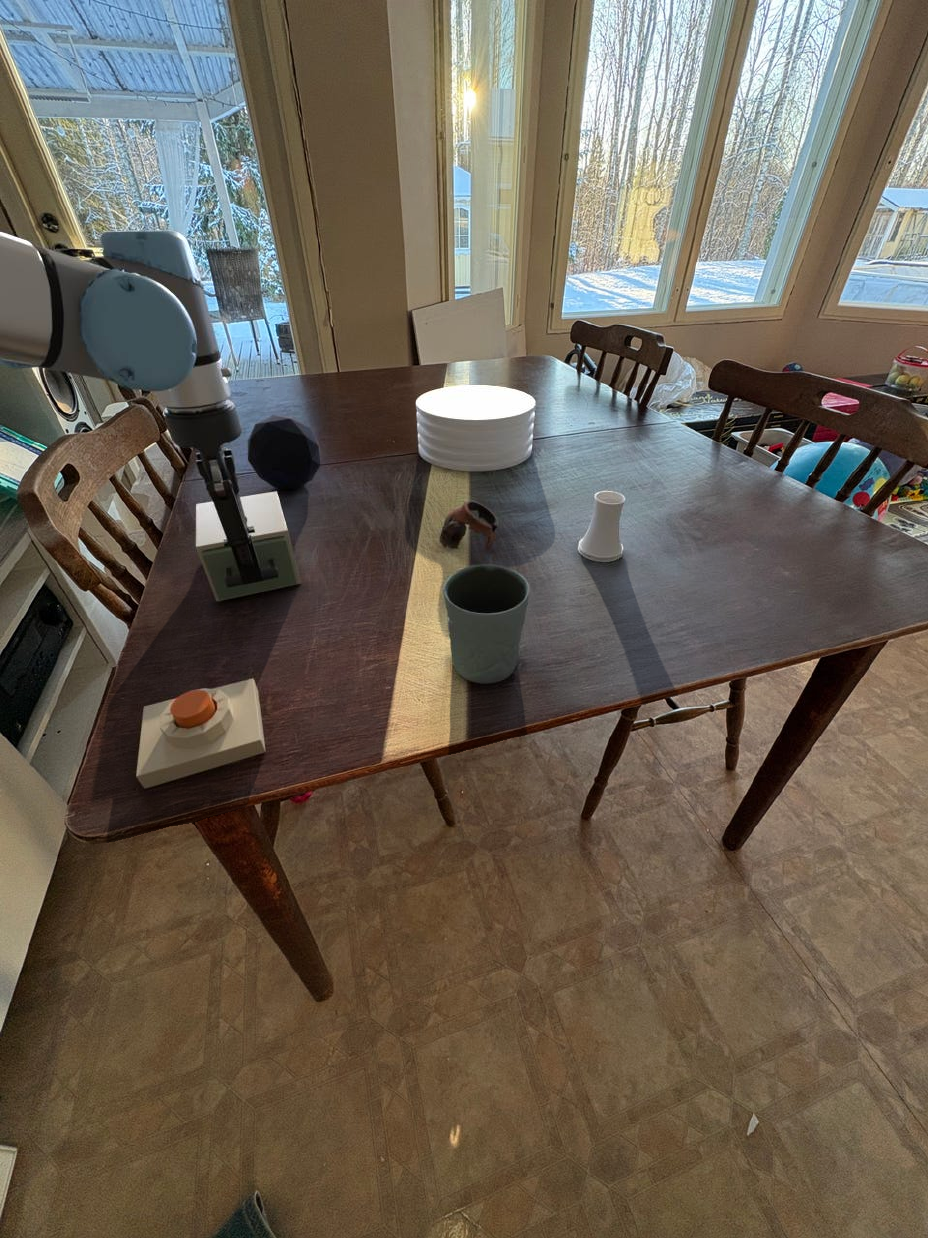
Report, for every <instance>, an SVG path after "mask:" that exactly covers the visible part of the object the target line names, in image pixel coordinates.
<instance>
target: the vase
mask: <svg viewBox="0 0 928 1238" xmlns="http://www.w3.org/2000/svg"><path fill="white" fill-rule="evenodd" d="M625 502H626V497H625V496H624V495H623V494H622V493H619V492H617V491H611V490H602V491H598V492H596V493H594V506H593V512H592V516H591V520H590V523H589V526H588V529H587V531H586V533H585V534H584V536H583V537H582V538H581V539H580V540H579V541H578V546H577V550H578V553H579V554H580V555H581V556H583V558H586V559H588V560H590V561H594V562H599V563H609V562H614V561H617V560H619V559H620V558H621V557H622V556H623V551H624V545H623V543H622V542H621V536H620V522H621V521H620V520H621V514H622V510H623V507H624V504H625Z"/></svg>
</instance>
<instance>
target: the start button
mask: <svg viewBox="0 0 928 1238" xmlns="http://www.w3.org/2000/svg"><path fill="white" fill-rule="evenodd" d="M174 699H175V700H174V702H173V703H172V705H171V708H170V711H171V714H172V716H173V717H174V719H175V721H176V723H177V724H178V726H180V727H182V728H186V729H190V728H194V727H197V726H201V725H203V724H204V723H206V722H207V721H209V720H210V719H211V718H212V717H213V715H214V713H215V709H216V708H215V705H214V703H213V701H212V698H211V696H210V694H209V693H208V692H206V691H203V690H199V689H194V690H193V689H192V690H189V691H186V692H184V693H182V694H180V695H179V696H178V697H176V698H174Z"/></svg>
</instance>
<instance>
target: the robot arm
mask: <svg viewBox="0 0 928 1238" xmlns="http://www.w3.org/2000/svg"><path fill="white" fill-rule="evenodd" d="M100 243H101V246H102V255H103V256H102V257H96V258H90V259H81V258H77V257H75V256H71V255H69V254H65V253H62V252H60V251H57V250H55V249H51V248H48V247H44V246H40V245H37V244H34V243H31V242H30V241H29V240H26V239H23V238H20V237H17V236H15V235H12V234H8V233H5V232H3V231H0V364H1V365H2V366H4V367H5V368H8V369H11V370H23V369H33V368H34V369H35V368H38V369H47V370H51V371H57V372H61V373H68V374H72V375H78V376H83V377H89V378H93V379H97V380H98V379H99V380H103V381H108V382H113V383H114V384H116V385H117V386H120V387H122V388H125V389H129V390H136V391H137V390H138V391H145V392H154V396H155V399H156V401H157V404H158V405H160V406H162V407H163V408H164V409H163V412H162V416H163V419H164V422H165V424H166V427H167V431H168V433H169V435H170V439H171V441H172V442H173V443H174V444H175V445H176V446H178V447H181V448H186V449H190V448H191V449H195V450H198V451H199V452H197V453H196V454H195V455H196V456H195V457H196V459H197V460H195V464H196V467H197V470H198V473H199V475H200V477H202V478H203V481H204V484H205V488H206V491H207V492H208V495H209V497H210V498H211V502H212V501H213V503H214V506H215V508H216V511H217V514H218V517H219V519H220V522H221V525H222V527H223V530H224V533H225V535H226V538H227V539H224V546H230V547H231V549H232V552H233V555H234V558H235V561H236V564H237V567H238V570H239V573H240V576H241V579H242V582H243V585H246V584H251V583H255V582H260V581H264V578H263V574H262V571H261V567H260V564H259V561H258V557H257V554H256V551H255V547H254V544H253V541H252V537H251V535H249V533H254V532H255V529H254V526H251V527H248V526H247V517H246V516H245V513H244V510H243V506H242V503H241V499H240V497H241V496H240V487H239V480H238V477H237V476H238V475H237V472H236V465H235V458H234V454H233V450H232V449H231V448H230V449H228V448H227V447H225V445H224V444H230V443H232V442H234V441H236V440H237V439H238V438H240V437H241V434H242V426H241V423H240V420H239V416H238V412H237V409H236V405H235V403H234V402H233V401H231V399H230V397H231V396H232V392H231V388H230V385H229V381H228V380H227V378H231V377H232V375H233V373H232V372H233V371H232V370H231V369H230V367H228V366H225V367H223V360H222V354H221V352H220V348H219V343H218V341H217V337H216V332H215V329H214V325H213V322H212V318H211V315H210V309H209V306H208V302H207V299H206V294H205V291H204V290H205V286H204V282H203V280H202V279H201V275H200V272H199V270H198V267H197V263H196V260H195V257H194V256H193V252H192V250H191V247H190V244H189V242H188V241H187V239H186V238H185V237H184V236H183V235H182V234H181V233H180V232H178V231H175V230H171V229H165V230H163V229H162V230H161V229H159V230H158V229H155V230H153V229H151V230H106V231H103V232H102V233H101V234H100Z"/></svg>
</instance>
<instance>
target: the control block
mask: <svg viewBox="0 0 928 1238" xmlns="http://www.w3.org/2000/svg"><path fill="white" fill-rule="evenodd" d="M258 689H259V688H258V686H257V685H256V681H255V679H254V678H253V677H252V678H249V679H246V680H242V681H237V682H234V683H233V682H232V683H229V684H226V685H221V686H218V687H214V688H207V687H205V688H199V689H198V690H203V691H206V692H208V693H209V694H210V696H211V698H212V701H213V703H214V705H215V708H216V709H215V713H214V715H213V717H212V718H211V719H210V720H209V721H207V722H206V723H204V724H203V725H201V726H197V727H194V728H190V729H186V728H182V727H180V726H178V724H177V723H176V721H175V719H174V717H173V716H172V714H171V711H170V708H171V705H172V703H173V702H174V700H175V699H176V698H173V699H168V700H165V701H160V702H157V703H153V704H149V705H145V706H143V709H142V710H143V711H142V718H141V719H142V720H141V731H140V737H139V740H140V741H139V748H138V756H137V765H136V772H135V773H136V775H135V778H136V779H137V780H138V781H139V783H140V784H141V786H142V787H143V789H144V790H146V789H149V788H153V787H155V786H159V785H162V784H165V783H169V782H172V781H176V780H178V779H182V778H185V777H189V776H192V775H195V774H198V773H203V772H205V771H208V770H212V769H214V768H215V769H216V768H219V767H222V766H226V765H228V764H231V763H235V762H239V761H242V760H244V759H249V758H252V757H255V756H258V755H261V754H265V753H266V744H265V736H264V726H263V721H262V719H263V718H262V711H261V704H260V696H259V690H258Z"/></svg>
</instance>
